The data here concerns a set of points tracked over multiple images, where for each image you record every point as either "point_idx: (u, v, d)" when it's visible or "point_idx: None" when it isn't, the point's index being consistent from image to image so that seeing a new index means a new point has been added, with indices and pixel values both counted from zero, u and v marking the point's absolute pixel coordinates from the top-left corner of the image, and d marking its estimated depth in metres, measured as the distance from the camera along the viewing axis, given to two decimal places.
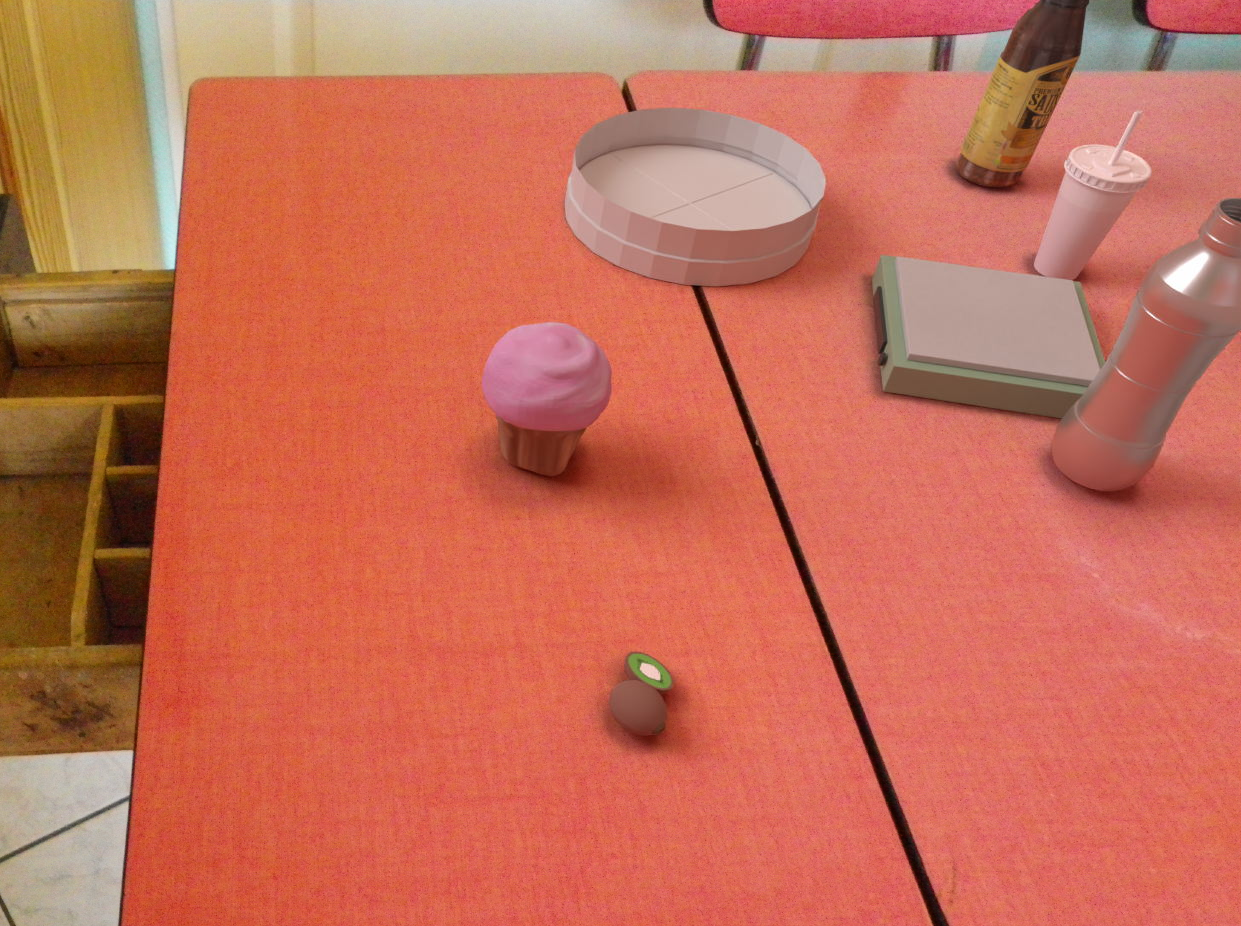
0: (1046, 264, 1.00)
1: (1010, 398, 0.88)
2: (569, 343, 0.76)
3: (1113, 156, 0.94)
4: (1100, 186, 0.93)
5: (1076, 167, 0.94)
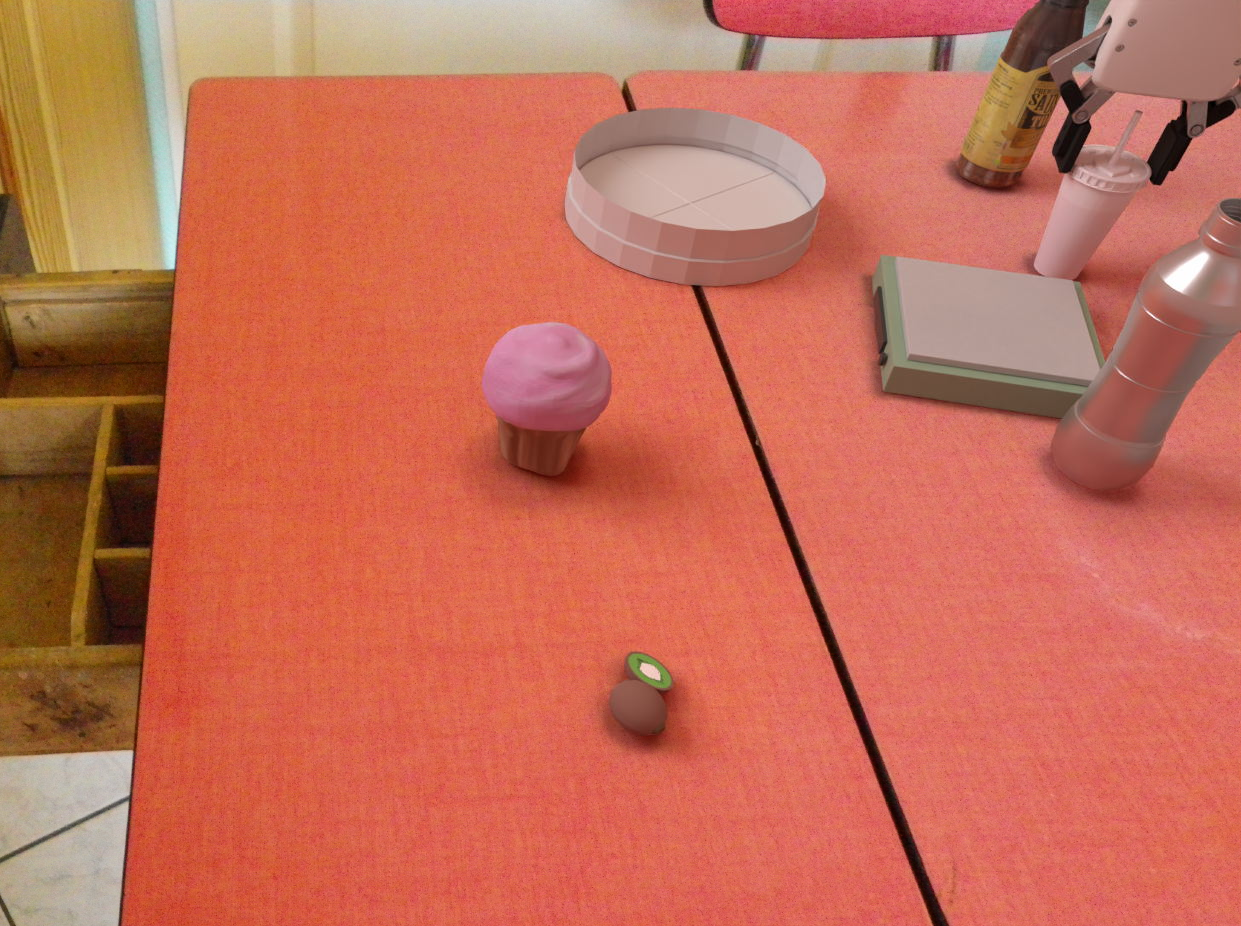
0: (1046, 264, 1.00)
1: (1010, 398, 0.88)
2: (569, 343, 0.76)
3: (1113, 156, 0.94)
4: (1100, 186, 0.93)
5: (1076, 167, 0.94)
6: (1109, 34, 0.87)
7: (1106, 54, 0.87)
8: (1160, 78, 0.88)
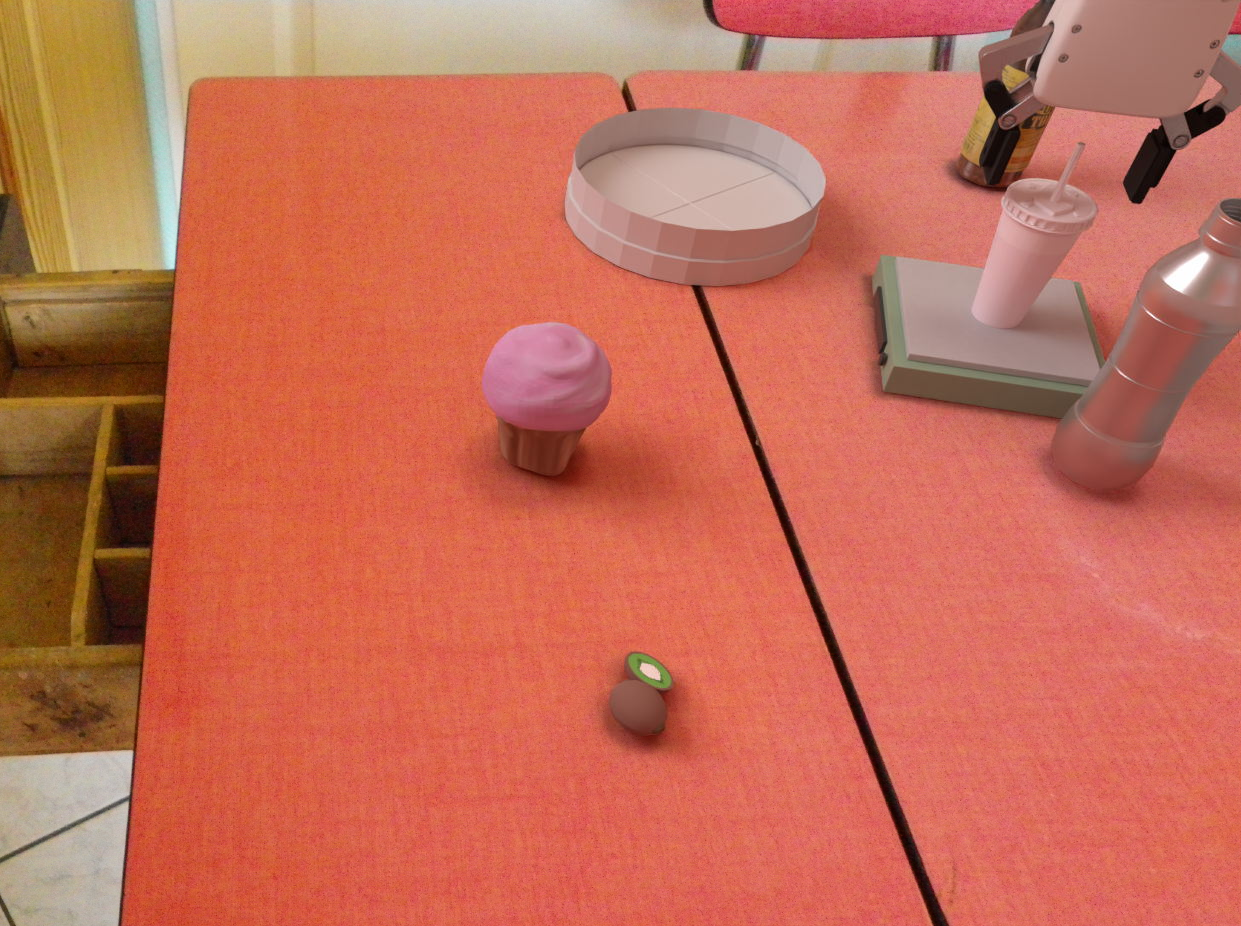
0: (985, 310, 0.90)
1: (1010, 398, 0.88)
2: (569, 343, 0.76)
3: (1054, 193, 0.83)
4: (1040, 226, 0.83)
5: (1013, 204, 0.84)
6: (1051, 42, 0.76)
7: (1048, 64, 0.76)
8: (1110, 92, 0.77)
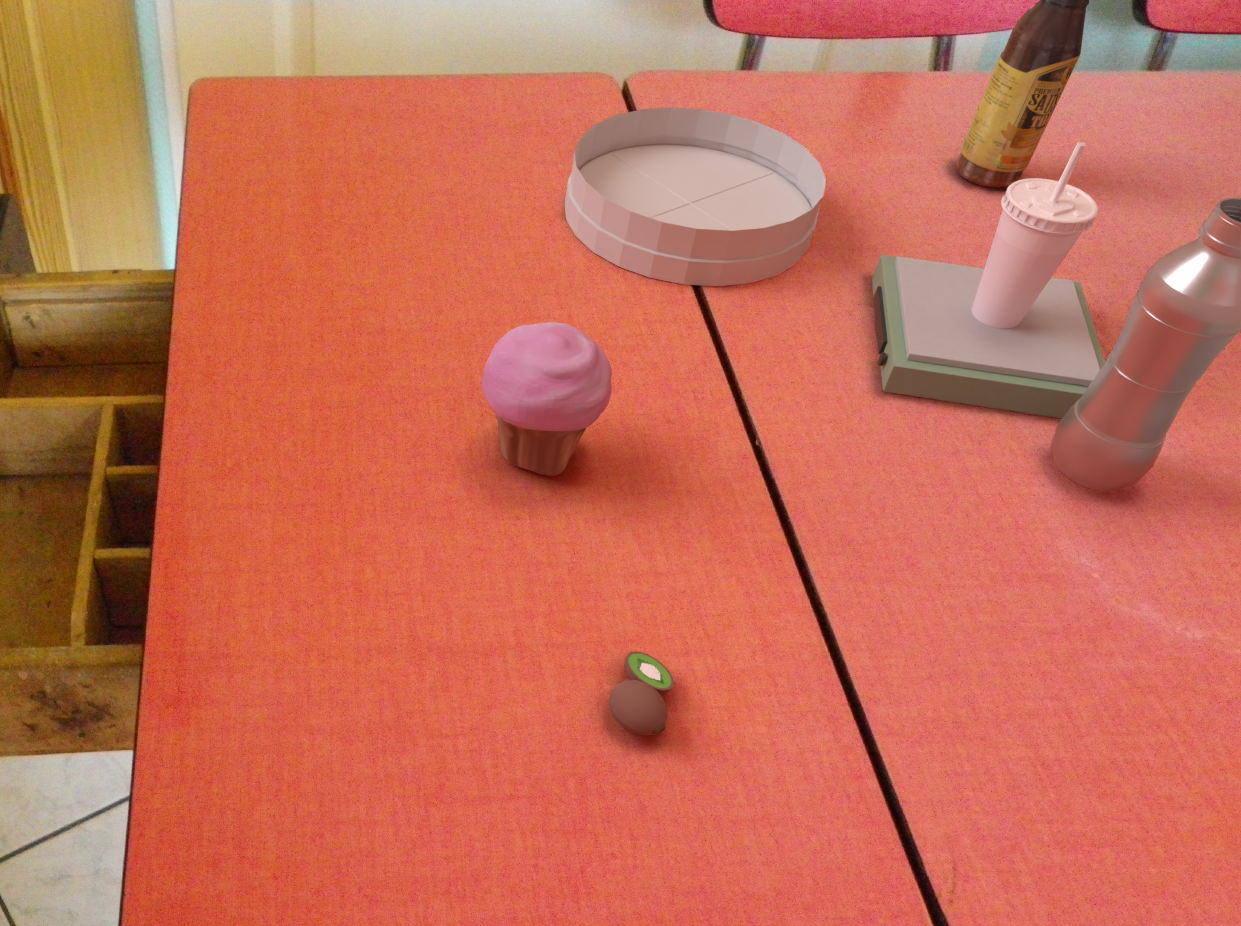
0: (985, 310, 0.90)
1: (1010, 398, 0.88)
2: (569, 343, 0.76)
3: (1054, 193, 0.83)
4: (1040, 226, 0.83)
5: (1013, 204, 0.84)
6: None
7: None
8: None
